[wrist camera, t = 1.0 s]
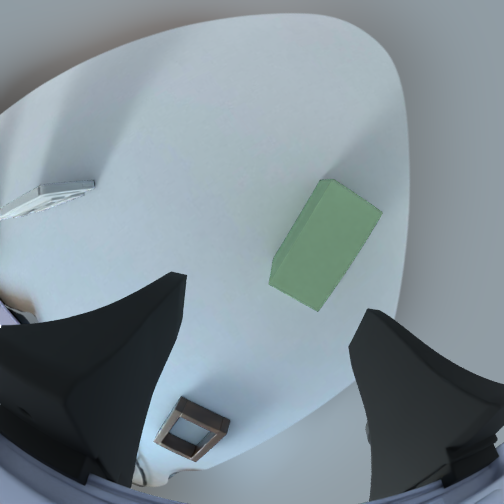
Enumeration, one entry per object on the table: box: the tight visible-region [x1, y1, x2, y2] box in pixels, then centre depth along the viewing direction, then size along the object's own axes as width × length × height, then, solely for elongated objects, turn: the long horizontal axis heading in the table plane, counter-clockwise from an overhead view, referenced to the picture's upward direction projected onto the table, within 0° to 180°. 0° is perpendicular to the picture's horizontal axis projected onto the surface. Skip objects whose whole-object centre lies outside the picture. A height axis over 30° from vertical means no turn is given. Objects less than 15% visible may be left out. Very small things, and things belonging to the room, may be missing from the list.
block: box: [269, 179, 382, 312], centre depth 20 cm, size 4×8×6 cm, turn 151°
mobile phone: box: [0, 300, 20, 327], centre depth 32 cm, size 8×1×15 cm
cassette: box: [0, 180, 94, 220], centre depth 21 cm, size 12×2×8 cm, turn 99°
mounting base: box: [153, 396, 230, 462], centre depth 30 cm, size 7×11×2 cm, turn 151°
